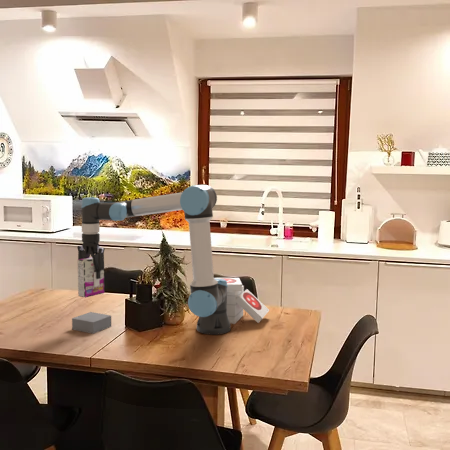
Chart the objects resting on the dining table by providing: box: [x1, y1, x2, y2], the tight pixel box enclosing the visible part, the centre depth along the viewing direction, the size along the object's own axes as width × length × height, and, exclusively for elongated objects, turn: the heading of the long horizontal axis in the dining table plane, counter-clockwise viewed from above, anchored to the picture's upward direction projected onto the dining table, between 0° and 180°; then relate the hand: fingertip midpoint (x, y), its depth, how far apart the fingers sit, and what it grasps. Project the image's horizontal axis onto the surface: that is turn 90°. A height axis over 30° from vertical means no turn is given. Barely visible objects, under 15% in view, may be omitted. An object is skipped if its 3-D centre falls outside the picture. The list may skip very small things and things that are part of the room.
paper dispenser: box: [216, 277, 270, 325], centre depth 253 cm, size 19×30×18 cm, turn 73°
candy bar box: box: [77, 257, 106, 299], centre depth 234 cm, size 11×5×16 cm, turn 143°
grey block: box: [71, 311, 112, 334], centre depth 236 cm, size 12×12×5 cm
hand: (91, 285), depth 234 cm, fingers closed on candy bar box, 5 cm apart
